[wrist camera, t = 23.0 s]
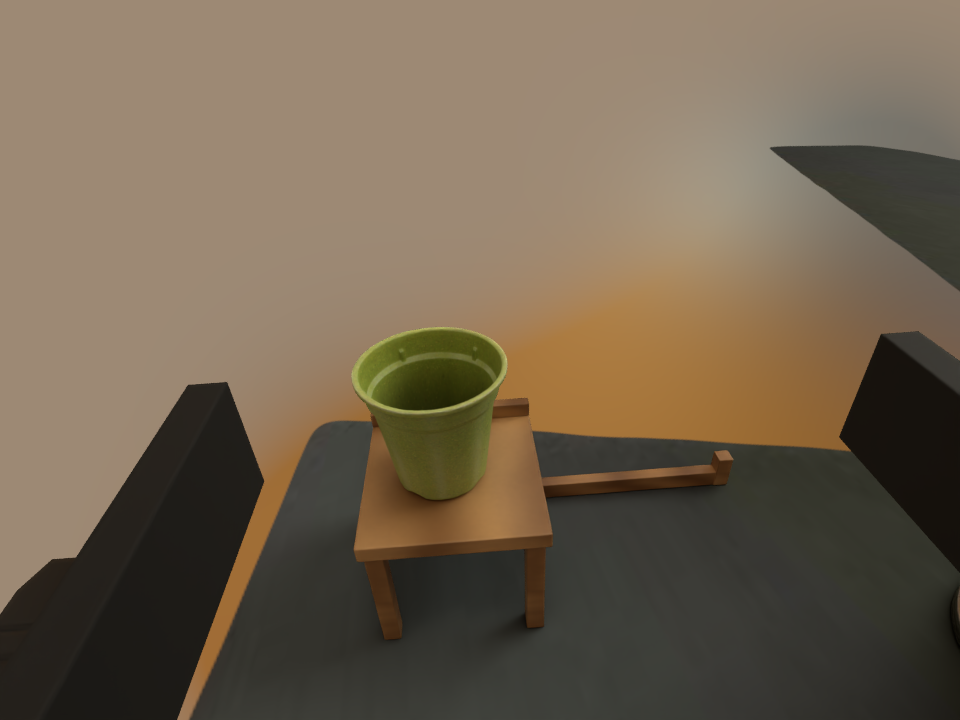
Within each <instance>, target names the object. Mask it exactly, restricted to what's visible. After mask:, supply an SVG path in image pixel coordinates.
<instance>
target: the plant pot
mask: <svg viewBox="0 0 960 720" xmlns="http://www.w3.org/2000/svg"><path fill="white" fill-rule="evenodd" d="M506 373H507V358H506V355H505V353H504V351H503V350H502V348H501V347H500V346H499V345H498V344H497V343H496V342H494V341H493V340H492V339H490V338H489V337H487V336H485V335H482V334H480V333H477V332H474V331H470V330H466V329H461V328H451V327H433V328H425V329H424V328H423V329H417V330H411V331H407V332H403V333H399V334H396V335H394V336H392V337H389V338H387V339H385V340H382V341H381V342H379V343H377V344H376V345H374V346H372V347H371V348H369V349H368V350H367V351H366V352H365V353H363V354H362V355H361V356H360V358H359V359H358V361H357V362H356V363H355V365H354V367H353V370H352V384H353V387H354V390H355V392H356V394H357V395H358V396H359V398H360V399H361V400H362V401H363V402H365V403H366V405H367V407H368V409H369V410H370V411H371V413H372V414H373V415H374V416H375V418H376V421H377V423H378V425H379V428H380V430H381V433H382V435H383V438H384V441H385V443H386V446H387V448H388V451H389V453H390V456H391V459H392V461H393V464H394V467H395V469H396V472H397V474H398V477H399V480H400V482H401V483H402V485H403V486H404V488H405V489H406V490H408V491H412V492H414V493H417V494H419V495H420V496H422V497H424V498H426V499H430V500H444V499H450V498H454V497H458V496H460V495H463V494H465V493H467V492H469V491H470V490H471V489H473V487H474V486H475V485H476V483H477V482H478V481H479V480H480V478H481V477H482V476H483V475H484V474H485V471H486V465H487V456H488V447H489V439H490V430H491V421H492V413H493V404H494V400H495V398H496V396H497V393H498V390H499V387H500V385H501V384H502V382H503V381H504V378H505V376H506Z"/></svg>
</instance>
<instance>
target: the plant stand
mask: <svg viewBox="0 0 960 720" xmlns="http://www.w3.org/2000/svg"><path fill="white" fill-rule="evenodd" d="M371 420H372V425H373V432H372V439H371V445H370V451H369V457H368V463H367V470H366V476H365V482H364V488H363V495H362V501H361V507H360V513H359V520H358V526H357V532H356V538H355V544H354V553H355V557H356V560H357V562H364V563H365V567H366V571H367V575H368V579H369V582H370V586H371V590H372V594H373V597H374V601H375V605H376V609H377V612H378V616H379V620H380V624H381V628H382V631H383V635H384V639H385V640H389V639H401V637H402V619H401V615H400V610H399V606H398V601H397V597H396V592H395V588H394V584H393V579H392V575H391V570H390V566H389V561H388V560H391V559H404V558H416V557H429V556H442V555H454V554H467V553H479V552H492V551H504V550H517V549H524V557H525V616H526V624H527V628H535V627H543V626H544V598H545V554H546V547H552V543H553V533H552V528H551V523H550V518H549V513H548V508H547V503H546V498H545V497H558V496H570V495H583V494H596V493H609V492H622V491H635V490H647V489H660V488H673V487H686V486H699V485H711V484H713V485H723V484H727V480H728V477H729V473H730V470H731V466H732V462H733V459H732V457H731V455H730V454H729V452H728V451H727V450H725V451H714V454H713V458H712V462H711V465H701V466H688V467H675V468H662V469H649V470H636V471H623V472H610V473H598V474H585V475H572V476H559V477H546V478H541V474H540V469H539V464H538V459H537V454H536V449H535V444H534V439H533V434H532V429H531V424H530V419H529V402H528V399H527V398H518V399H505V400H494V404H493V413H492V421H491V430H490V439H489V447H488V456H487V465H486V471H485V474H484V475H483V476H482V477H481V478H480V480H479V481H478V482H477V483H476V485H475V486H474V487H473V489H471V490H470V491H469V492H467V493H465V494H463V495H460V496H458V497H454V498H450V499H444V500H430V499H426V498H424V497H422V496H420V495H419V494H417V493H414V492H412V491H408V490H406V489H405V488H404V486H403V485H402V483H401V482H400V480H399V477H398V474H397V472H396V469H395V467H394V464H393V461H392V459H391V456H390V453H389V451H388V448H387V446H386V443H385V441H384V438H383V435H382V433H381V430H380V428H379V425H378V423H377V421H376V418H375V416H374V415H373V414H372V413H371Z"/></svg>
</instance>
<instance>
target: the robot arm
mask: <svg viewBox="0 0 960 720" xmlns="http://www.w3.org/2000/svg"><path fill="white" fill-rule="evenodd" d="M839 437H840V439H841V440H842V441H843V442H844V443H845V444H846V445H847V447H848V448H849V449H850V450H851V451H852V452H853V453H854V454H855V456H856V457H857V458H858V459H859V460H860V461H861V462H862V463H863V465H864V466H865V467H866V468H867V469H868V470H869V471H870V472H871V474H872V475H873V476H874V477H875V478H876V479H877V480H878V481H879V483H880V484H881V485H882V486H883V487H884V488H885V489H886V490H887V492H888V493H889V494H890V495H891V496H892V497H893V498H894V499H895V501H896V502H897V503H898V504H899V505H900V506H901V507H902V508H903V509H904V511H905V512H906V513H907V514H908V515H909V516H910V517H911V518H912V520H913V521H914V522H915V523H916V524H917V525H918V526H919V527H920V529H921V530H922V531H923V532H924V533H925V534H926V535H927V536H928V538H929V539H930V540H931V541H932V542H933V543H934V544H935V545H936V547H937V548H938V549H939V550H940V551H941V552H942V553H943V554H944V556H945V557H946V558H947V559H948V560H949V561H950V562H951V563H952V565H953V566H954V567H955V568H956V569H957V570H958V571H959V572H960V361H959V360H958V359H956V358H955V357H954V356H952V355H951V354H949V353H948V352H946V351H945V350H944V349H942V348H941V347H940V346H938V345H937V344H935V343H934V342H933V341H931V340H930V339H928V338H927V337H925V336H924V335H923V334H921V333H920V332H919V331H916V332H904V333H891V334H890V333H889V334H881V335H880V338H879V340H878V343H877V346H876V348H875V350H874V353H873V355H872V358H871V360H870V363H869V365H868V367H867V370H866V372H865V375H864V377H863V380H862V382H861V385H860V387H859V390H858V392H857V394H856V397H855V400H854V402H853V404H852V407H851V409H850V412H849V414H848V416H847V419H846V421H845V424H844V426H843V429H842V431H841V434H840V436H839ZM263 483H264V479H263V477H262V474H261V471H260V469H259V466H258V463H257V461H256V458H255V455H254V453H253V450H252V448H251V445H250V442H249V439H248V437H247V434H246V431H245V429H244V426H243V423H242V421H241V418H240V415H239V413H238V410H237V407H236V405H235V402H234V399H233V397H232V394H231V392H230V389H229V386H228V383H227V382H223V383H209V384H196V385H188V386H187V387H186V389H185V391H184V392H183V394H182V395H181V397H180V398H179V400H178V401H177V403H176V404H175V406H174V407H173V409H172V411H171V412H170V414H169V415H168V417H167V418H166V420H165V421H164V423H163V424H162V426H161V428H160V429H159V431H158V432H157V434H156V435H155V437H154V438H153V440H152V441H151V443H150V445H149V446H148V447H147V449H146V451H145V452H144V454H143V455H142V457H141V458H140V460H139V461H138V463H137V464H136V466H135V468H134V469H133V471H132V472H131V474H130V475H129V477H128V478H127V480H126V481H125V483H124V485H123V486H122V487H121V489H120V491H119V492H118V494H117V495H116V497H115V498H114V500H113V501H112V503H111V504H110V506H109V507H108V509H107V511H106V512H105V514H104V515H103V517H102V518H101V520H100V522H99V523H98V525H97V526H96V527H95V529H94V531H93V532H92V534H91V535H90V537H89V538H88V540H87V541H86V543H85V544H84V546H83V548H82V549H81V551H80V552H79V554H78V555H77V557H76V558H64V559H52V560H51V561H50V562H49V563H48V564H46V565H45V566H44V567H43V568H42V569H41V570H40V571H39V572H37V573H36V574H35V575H34V576H33V577H32V578H31V579H30V580H28V581H27V582H26V583H25V584H24V585H23V586H22V587H21V588H20V589H18V590H17V592H16V593H15V594H14V596H13V597H12V599H11V600H10V602H9V603H8V604H7V606H6V607H5V608H4V610H3V611H2V613H1V614H0V720H177V718H178V716H179V713H180V710H181V707H182V704H183V702H184V699H185V697H186V694H187V691H188V688H189V686H190V683H191V680H192V677H193V675H194V672H195V669H196V667H197V664H198V661H199V658H200V655H201V653H202V650H203V647H204V644H205V642H206V639H207V636H208V634H209V631H210V628H211V626H212V623H213V620H214V617H215V615H216V612H217V609H218V606H219V603H220V601H221V598H222V595H223V592H224V590H225V587H226V584H227V582H228V579H229V576H230V573H231V571H232V568H233V565H234V563H235V560H236V557H237V554H238V551H239V549H240V546H241V543H242V541H243V538H244V535H245V533H246V530H247V527H248V524H249V522H250V519H251V516H252V513H253V510H254V508H255V505H256V502H257V499H258V497H259V494H260V492H261V489H262V486H263ZM951 619H952V625H953V629H954V633H955V636H956V639H957V641H958V644H959V646H960V586H959V587H958V589H957V591H956V592H955V594H954V597H953V600H952V606H951Z"/></svg>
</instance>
